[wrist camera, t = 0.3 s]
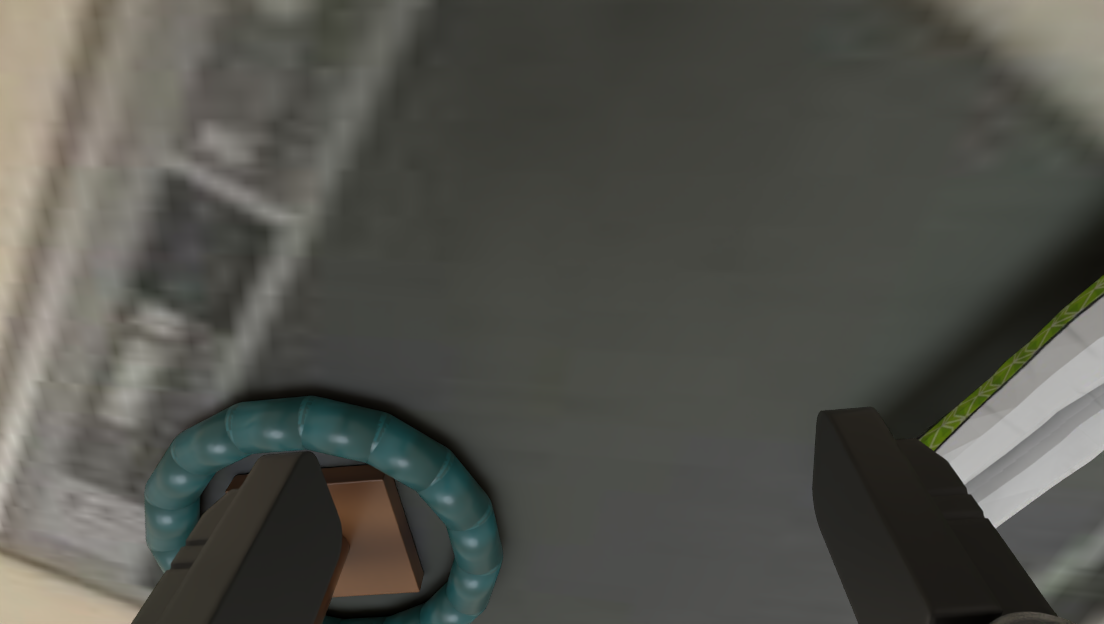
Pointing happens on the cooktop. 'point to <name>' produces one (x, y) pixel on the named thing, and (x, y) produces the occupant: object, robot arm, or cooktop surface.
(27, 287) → the cooktop surface
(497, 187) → the cooktop surface
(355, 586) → the ring toss
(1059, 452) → the figurine
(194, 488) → the ring
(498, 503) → the cooktop surface
